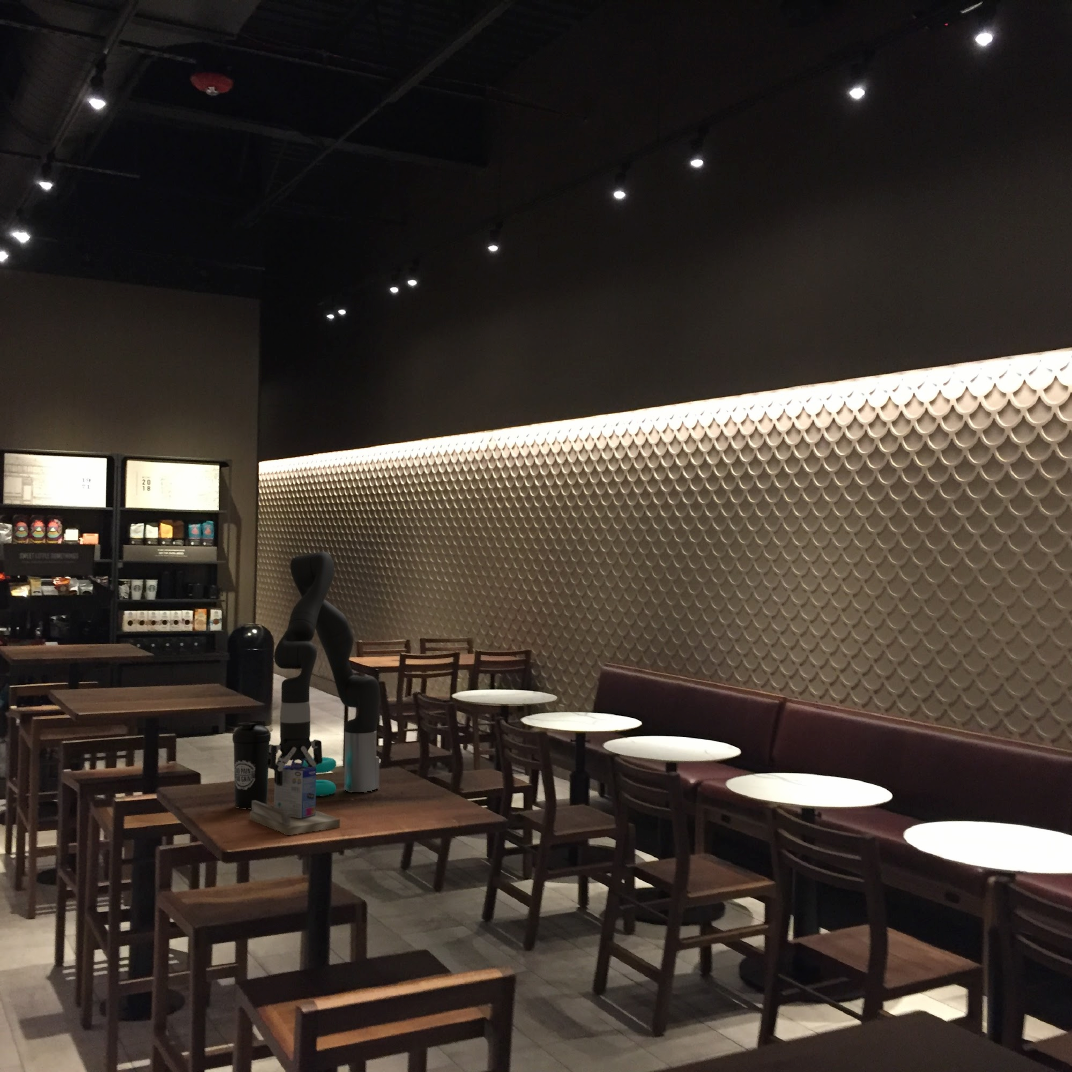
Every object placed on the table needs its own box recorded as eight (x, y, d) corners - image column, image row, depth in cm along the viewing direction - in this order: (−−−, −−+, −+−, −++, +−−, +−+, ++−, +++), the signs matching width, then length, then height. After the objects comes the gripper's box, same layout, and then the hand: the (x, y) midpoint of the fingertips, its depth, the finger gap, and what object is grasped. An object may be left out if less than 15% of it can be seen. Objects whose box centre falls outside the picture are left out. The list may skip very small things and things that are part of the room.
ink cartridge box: (317, 815, 273) (317, 758, 273) (302, 819, 268) (302, 761, 269) (288, 810, 278) (288, 754, 278) (272, 815, 273) (273, 758, 274)
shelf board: (299, 812, 286) (299, 793, 286) (339, 827, 268) (339, 807, 269) (248, 819, 277) (249, 800, 277) (287, 836, 259) (287, 815, 260)
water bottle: (224, 808, 289) (225, 723, 290) (245, 801, 299) (246, 718, 300) (257, 811, 286) (258, 724, 287) (277, 803, 296) (278, 719, 297)
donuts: (340, 760, 307) (305, 763, 303) (339, 795, 307) (305, 798, 302) (331, 755, 316) (297, 757, 312) (331, 789, 316) (297, 792, 311)
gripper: (275, 723, 266) (275, 789, 266) (327, 718, 275) (326, 782, 275) (262, 720, 272) (262, 784, 271) (313, 715, 281) (313, 777, 280)
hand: (294, 783), depth 273 cm, fingers open, 8 cm apart
